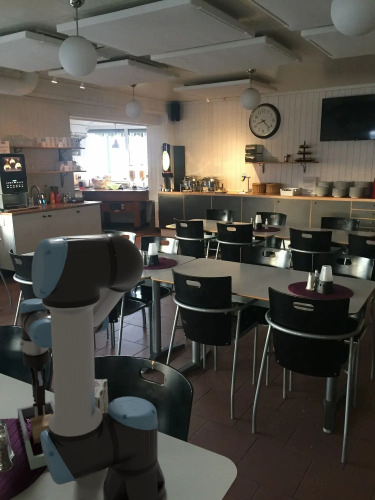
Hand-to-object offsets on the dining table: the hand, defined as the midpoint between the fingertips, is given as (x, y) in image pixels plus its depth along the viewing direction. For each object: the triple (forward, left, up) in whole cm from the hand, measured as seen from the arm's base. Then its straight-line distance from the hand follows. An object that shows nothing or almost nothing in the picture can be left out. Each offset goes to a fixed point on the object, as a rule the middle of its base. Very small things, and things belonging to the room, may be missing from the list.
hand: (40, 422), depth 131 cm
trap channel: (-5, 0, -2) cm, 5 cm away
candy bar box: (-14, -14, -2) cm, 20 cm away
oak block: (-5, 0, -2) cm, 5 cm away
